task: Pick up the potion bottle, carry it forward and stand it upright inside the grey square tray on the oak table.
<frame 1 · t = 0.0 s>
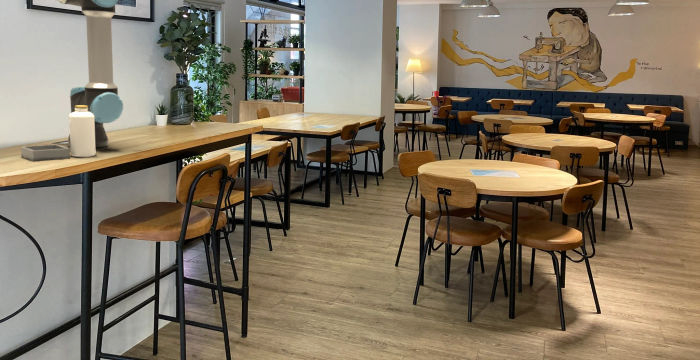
potion bottle: (83, 156, 228), on the table
grey square tray: (45, 157, 222), on the table
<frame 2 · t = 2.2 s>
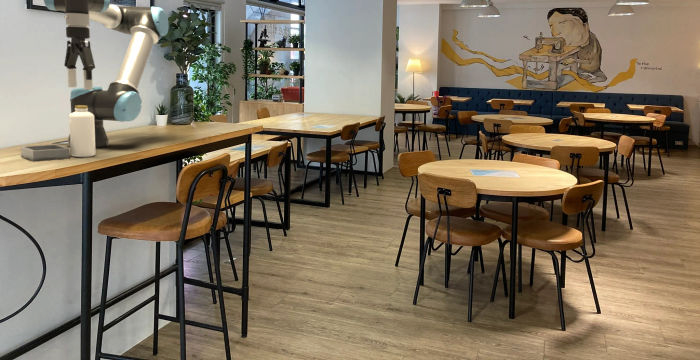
hand: (80, 88, 224), 24 cm above the table, fingers open, 13 cm apart
nothing on the table moved.
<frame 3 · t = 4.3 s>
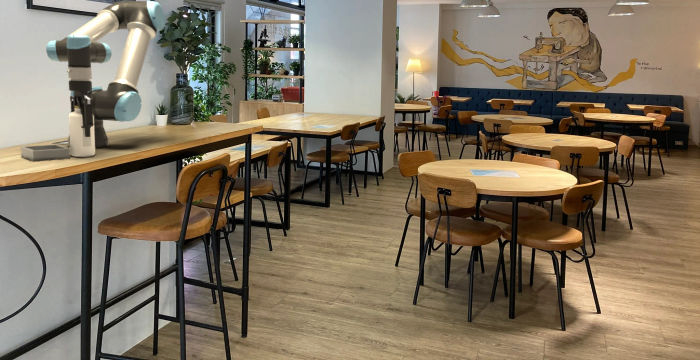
hand: (83, 144, 227), 4 cm above the table, fingers open, 6 cm apart
potion bottle: (82, 156, 229), on the table, touching gripper
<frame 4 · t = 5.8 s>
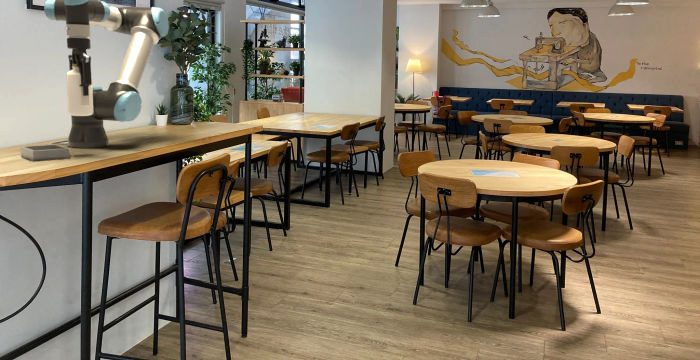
hand: (81, 104, 225), 19 cm above the table
potion bottle: (81, 115, 227), point 14 cm above the table, touching gripper, hand
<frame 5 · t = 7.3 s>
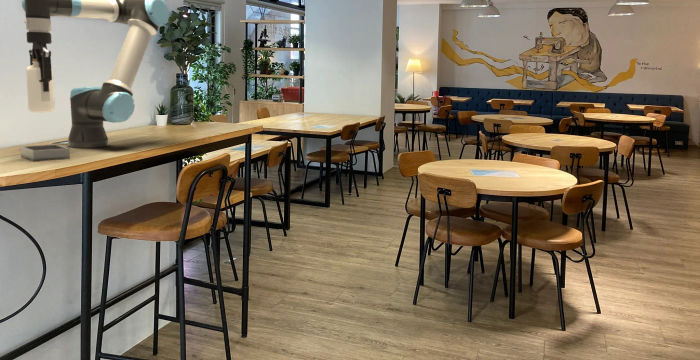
hand: (42, 100, 218), 20 cm above the table
potion bottle: (41, 112, 220), point 16 cm above the table, touching gripper, hand
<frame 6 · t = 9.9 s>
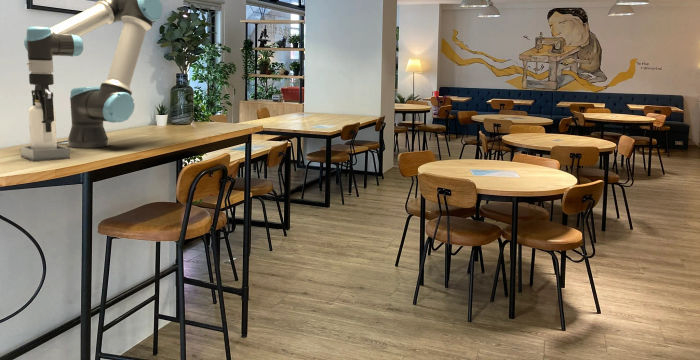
hand: (44, 140, 221), 6 cm above the table
potion bottle: (44, 151, 222), point 2 cm above the table, touching gripper, hand
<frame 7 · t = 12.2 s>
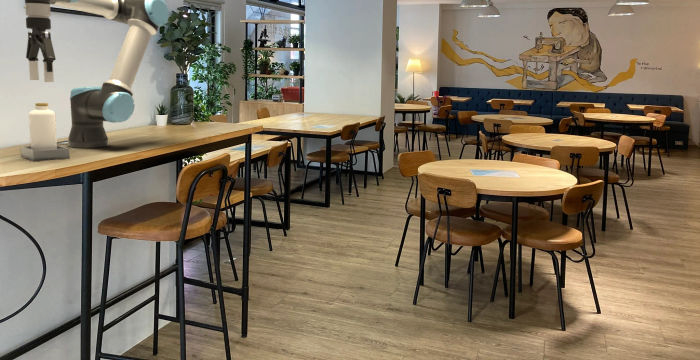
hand: (41, 81, 217), 27 cm above the table, fingers open, 13 cm apart
potion bottle: (44, 155, 223), point 1 cm above the table, touching grey square tray
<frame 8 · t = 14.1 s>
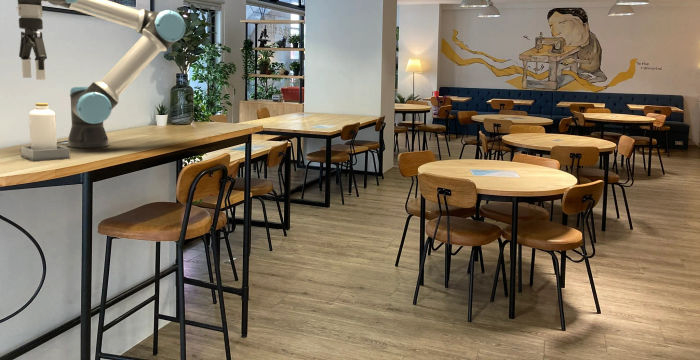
hand: (33, 78, 227), 27 cm above the table, fingers open, 13 cm apart
nothing on the table moved.
at the end: potion bottle 1.1 cm off-centre on the grey square tray, point 0.6 cm above the grey square tray's base; potion bottle tilted 0°; the gripper is holding nothing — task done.
